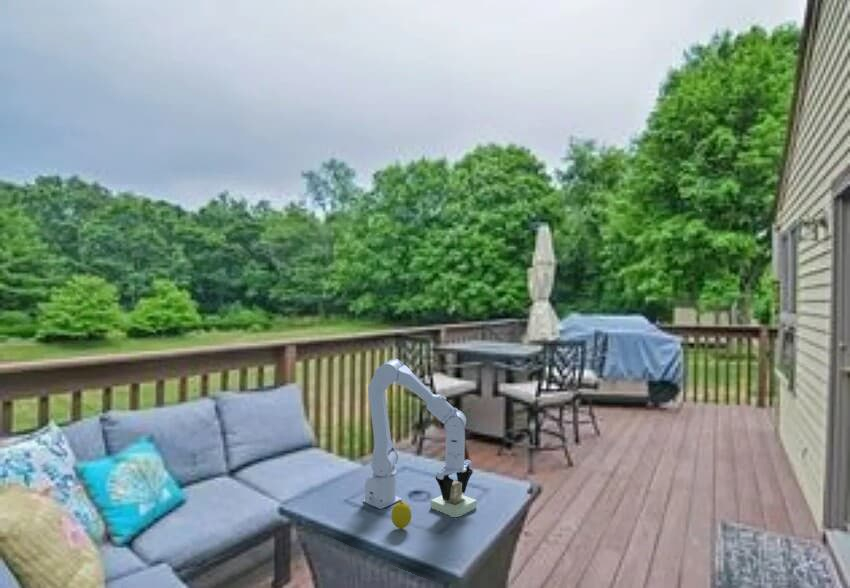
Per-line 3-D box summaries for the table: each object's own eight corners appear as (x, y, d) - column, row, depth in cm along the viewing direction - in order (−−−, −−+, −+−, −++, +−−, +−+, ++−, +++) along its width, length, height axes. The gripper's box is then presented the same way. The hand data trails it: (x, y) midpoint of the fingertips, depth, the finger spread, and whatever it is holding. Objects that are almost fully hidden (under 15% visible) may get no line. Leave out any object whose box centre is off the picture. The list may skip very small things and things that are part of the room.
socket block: (456, 518, 171) (456, 510, 171) (430, 508, 178) (430, 500, 178) (476, 508, 179) (476, 500, 178) (451, 498, 185) (451, 490, 185)
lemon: (400, 522, 168) (400, 495, 167) (414, 528, 164) (415, 501, 164) (387, 529, 164) (387, 501, 163) (401, 535, 160) (402, 507, 159)
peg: (454, 511, 176) (454, 486, 175) (444, 508, 178) (445, 482, 178) (461, 508, 178) (462, 482, 178) (452, 504, 181) (452, 479, 180)
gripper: (450, 461, 169) (448, 507, 170) (479, 449, 180) (478, 492, 181) (431, 455, 174) (430, 499, 175) (461, 444, 184) (460, 486, 185)
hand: (453, 495), depth 178 cm, fingers open, 7 cm apart
